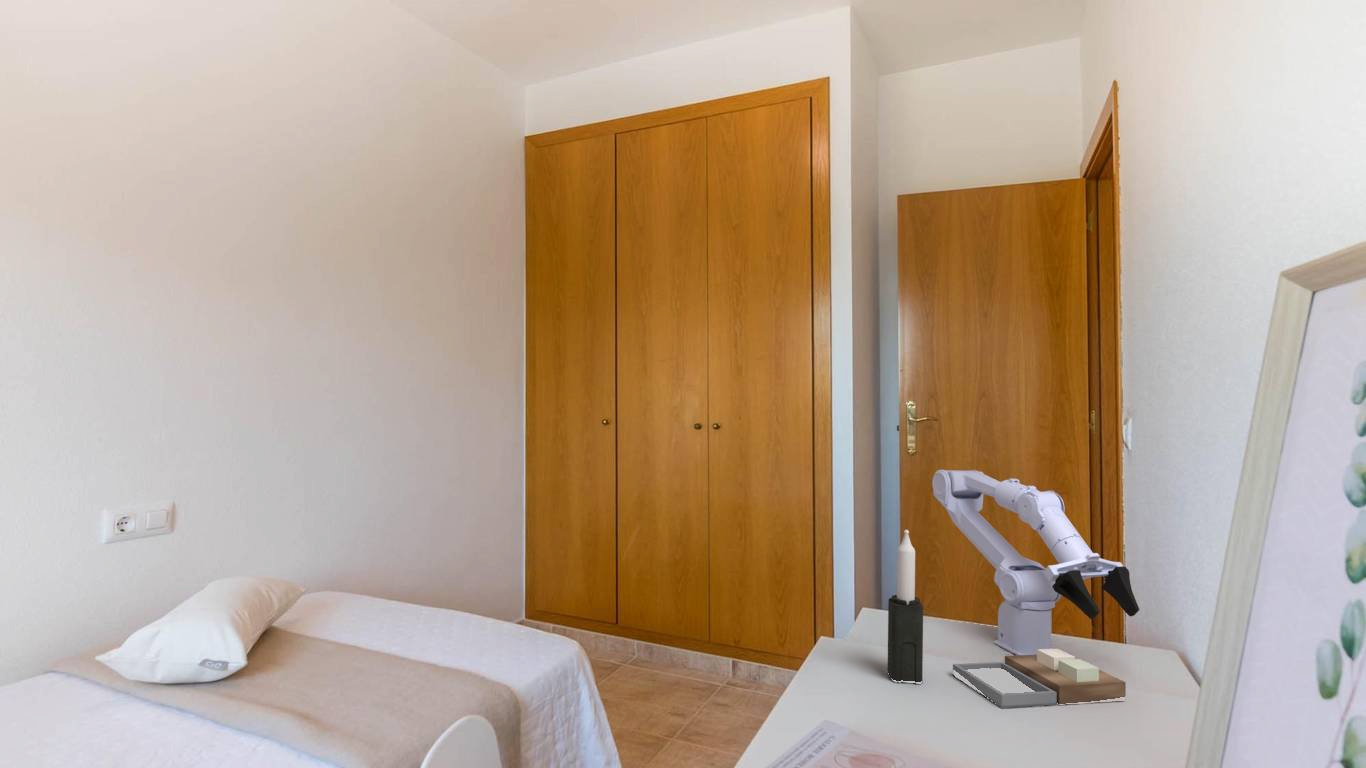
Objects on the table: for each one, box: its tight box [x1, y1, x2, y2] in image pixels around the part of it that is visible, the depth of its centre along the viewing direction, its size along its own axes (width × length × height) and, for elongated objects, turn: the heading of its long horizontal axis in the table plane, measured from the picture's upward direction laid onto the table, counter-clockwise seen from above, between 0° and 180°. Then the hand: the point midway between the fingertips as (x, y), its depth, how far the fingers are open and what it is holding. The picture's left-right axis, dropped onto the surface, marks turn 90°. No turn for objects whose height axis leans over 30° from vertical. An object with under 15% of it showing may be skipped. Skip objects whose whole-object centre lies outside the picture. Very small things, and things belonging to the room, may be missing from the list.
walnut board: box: [1004, 654, 1127, 705], centre depth 112 cm, size 13×12×3 cm
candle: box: [887, 529, 924, 682], centre depth 114 cm, size 5×5×25 cm
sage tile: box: [1058, 658, 1100, 682], centre depth 109 cm, size 4×4×2 cm
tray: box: [952, 661, 1058, 709], centre depth 110 cm, size 13×10×2 cm
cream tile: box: [1037, 648, 1076, 670], centre depth 114 cm, size 4×4×2 cm
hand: (1115, 614), depth 110 cm, fingers open, 7 cm apart
